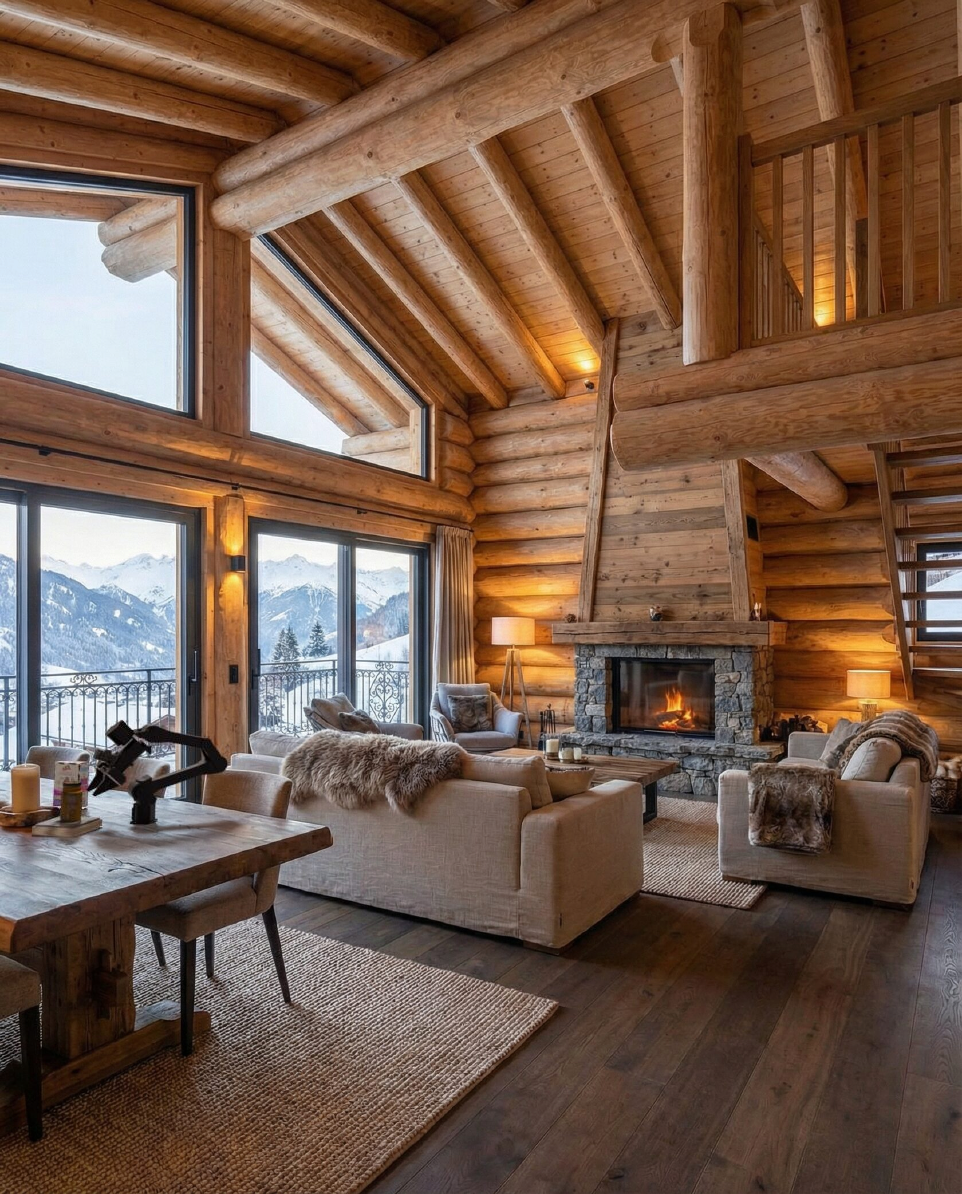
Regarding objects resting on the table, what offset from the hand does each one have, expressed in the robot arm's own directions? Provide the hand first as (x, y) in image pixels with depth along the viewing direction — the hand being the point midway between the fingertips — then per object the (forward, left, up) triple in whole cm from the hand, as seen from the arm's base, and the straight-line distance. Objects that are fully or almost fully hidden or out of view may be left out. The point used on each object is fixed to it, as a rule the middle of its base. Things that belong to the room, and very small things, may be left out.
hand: (90, 793), depth 259 cm
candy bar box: (+24, -25, -11) cm, 36 cm away
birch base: (+4, +4, -11) cm, 12 cm away
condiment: (+4, +5, -8) cm, 10 cm away
